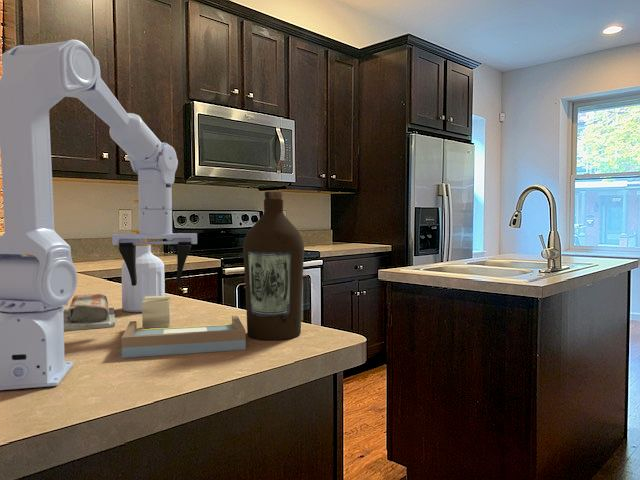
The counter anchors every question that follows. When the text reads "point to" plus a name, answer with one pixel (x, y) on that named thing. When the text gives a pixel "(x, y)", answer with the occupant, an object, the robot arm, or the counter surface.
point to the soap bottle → (142, 278)
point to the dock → (183, 339)
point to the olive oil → (273, 274)
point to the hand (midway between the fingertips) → (156, 284)
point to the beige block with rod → (156, 312)
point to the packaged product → (88, 313)
